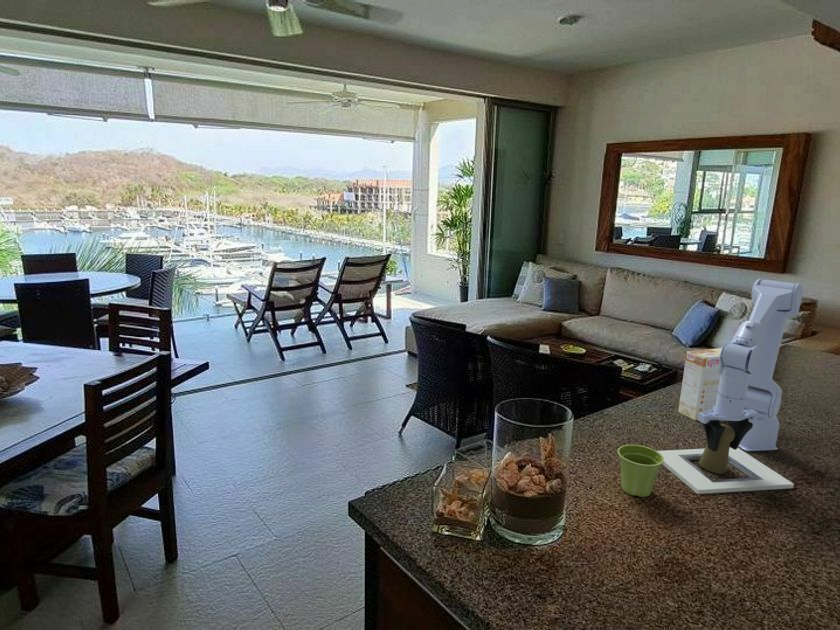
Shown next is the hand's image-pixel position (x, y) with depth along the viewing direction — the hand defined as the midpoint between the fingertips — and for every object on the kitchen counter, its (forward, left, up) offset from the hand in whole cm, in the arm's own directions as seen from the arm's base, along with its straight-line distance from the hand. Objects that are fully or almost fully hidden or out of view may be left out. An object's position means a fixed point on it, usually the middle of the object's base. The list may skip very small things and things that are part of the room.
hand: (722, 448), depth 128 cm
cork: (0, -2, -6) cm, 6 cm away
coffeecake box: (-20, -32, -6) cm, 38 cm away
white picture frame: (0, 0, -6) cm, 6 cm away
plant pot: (+25, +6, -6) cm, 26 cm away
